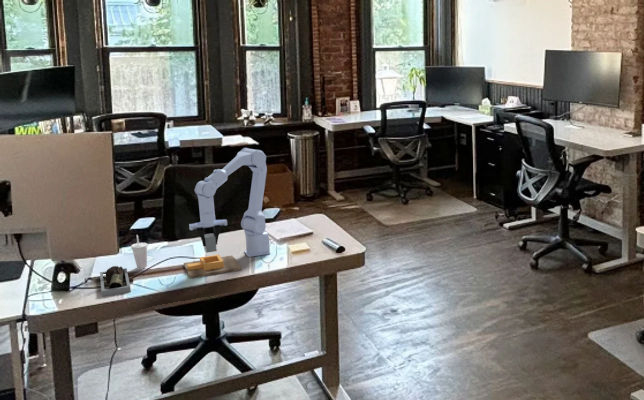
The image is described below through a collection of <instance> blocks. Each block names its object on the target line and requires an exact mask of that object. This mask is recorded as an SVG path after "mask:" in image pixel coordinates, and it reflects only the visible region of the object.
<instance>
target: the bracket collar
mask: <svg viewBox="0 0 644 400" xmlns="http://www.w3.org/2000/svg"><path fill="white" fill-rule="evenodd" d="M221 257H222V256H220V254H213V255H207V256H201V257H199V261H200V262H199V263H192V264H187V268H188V270H194V269H200V268H203V269H204V270H210V269H216V268H222V267H224V262H223V260H222V258H221Z"/></svg>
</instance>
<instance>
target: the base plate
mask: <svg viewBox="0 0 644 400" xmlns="http://www.w3.org/2000/svg"><path fill="white" fill-rule="evenodd" d="M220 257H221V258H222V260H223V262H224V267H222V268H216V269H210V270H204V269H203V268H200V269H194V270H188V268H187V264H192V263H199V262H200V260H195V261H187V262H183V266H184V265H185V267H184V268H185V269H184V270H185V271H186V273H187V276H188V277H189V279H195V278H201V277H206V276H207V277H208V276H213V275H219V274H225V273H231V272H232V273H233V272H238V271H242V267H241V265H240V264H239V262H238V261H237V259H236V258H235V257H234V256H233V255H232V254H231V255H226V256H220Z"/></svg>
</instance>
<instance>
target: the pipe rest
mask: <svg viewBox="0 0 644 400" xmlns="http://www.w3.org/2000/svg"><path fill="white" fill-rule="evenodd" d="M123 270H124V272H125V275H124V278H125V282H126V283H125V284H126V285H125V286H123V287H119V288H112V289H109V288H106V289H105V282H104V278H103V274H106V271H100V272H99V276H100V277H99V279H100V291H101V297H108V296H113V295H119V294H124V293H125V294H126V293H131V292H132V289H131V283H130V279H129V278H130V277H129V274H128V269H127V267H126V268H123Z"/></svg>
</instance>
